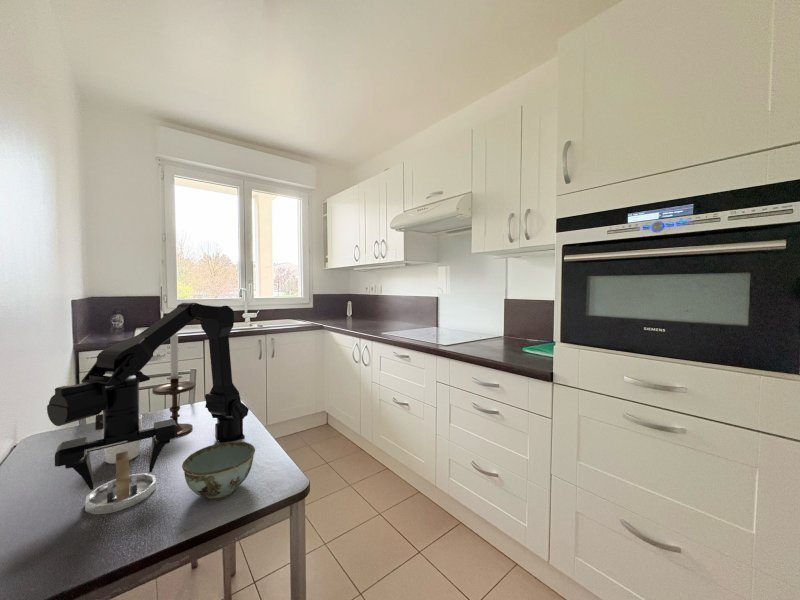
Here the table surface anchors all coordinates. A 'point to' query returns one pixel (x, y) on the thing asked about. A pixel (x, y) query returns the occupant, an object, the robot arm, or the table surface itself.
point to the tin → (106, 500)
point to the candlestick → (175, 388)
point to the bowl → (218, 469)
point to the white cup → (124, 448)
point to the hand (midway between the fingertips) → (122, 479)
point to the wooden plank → (122, 475)
